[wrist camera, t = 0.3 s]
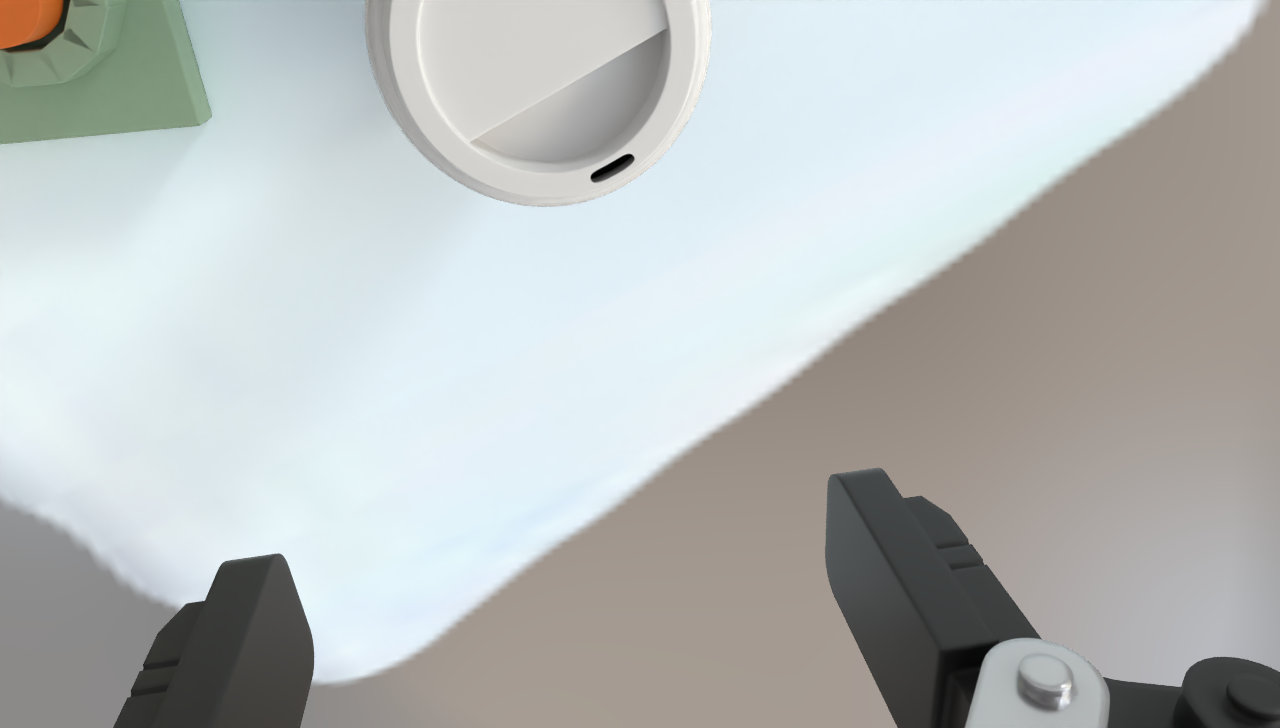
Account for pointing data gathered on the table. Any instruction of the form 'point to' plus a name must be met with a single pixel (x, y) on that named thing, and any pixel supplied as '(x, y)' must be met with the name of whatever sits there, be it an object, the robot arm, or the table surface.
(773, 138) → the table surface
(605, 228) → the table surface
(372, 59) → the coffee cup
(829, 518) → the robot arm
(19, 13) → the button
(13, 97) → the button box
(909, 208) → the table surface
